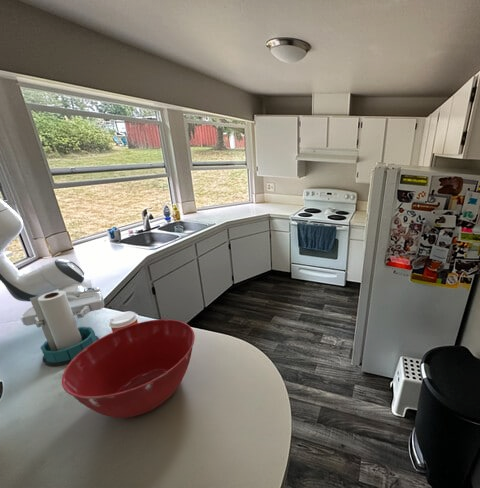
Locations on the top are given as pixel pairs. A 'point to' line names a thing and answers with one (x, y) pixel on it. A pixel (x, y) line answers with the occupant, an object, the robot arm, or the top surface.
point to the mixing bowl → (131, 368)
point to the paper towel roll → (57, 320)
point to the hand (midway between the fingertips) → (60, 320)
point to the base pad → (68, 349)
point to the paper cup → (123, 320)
